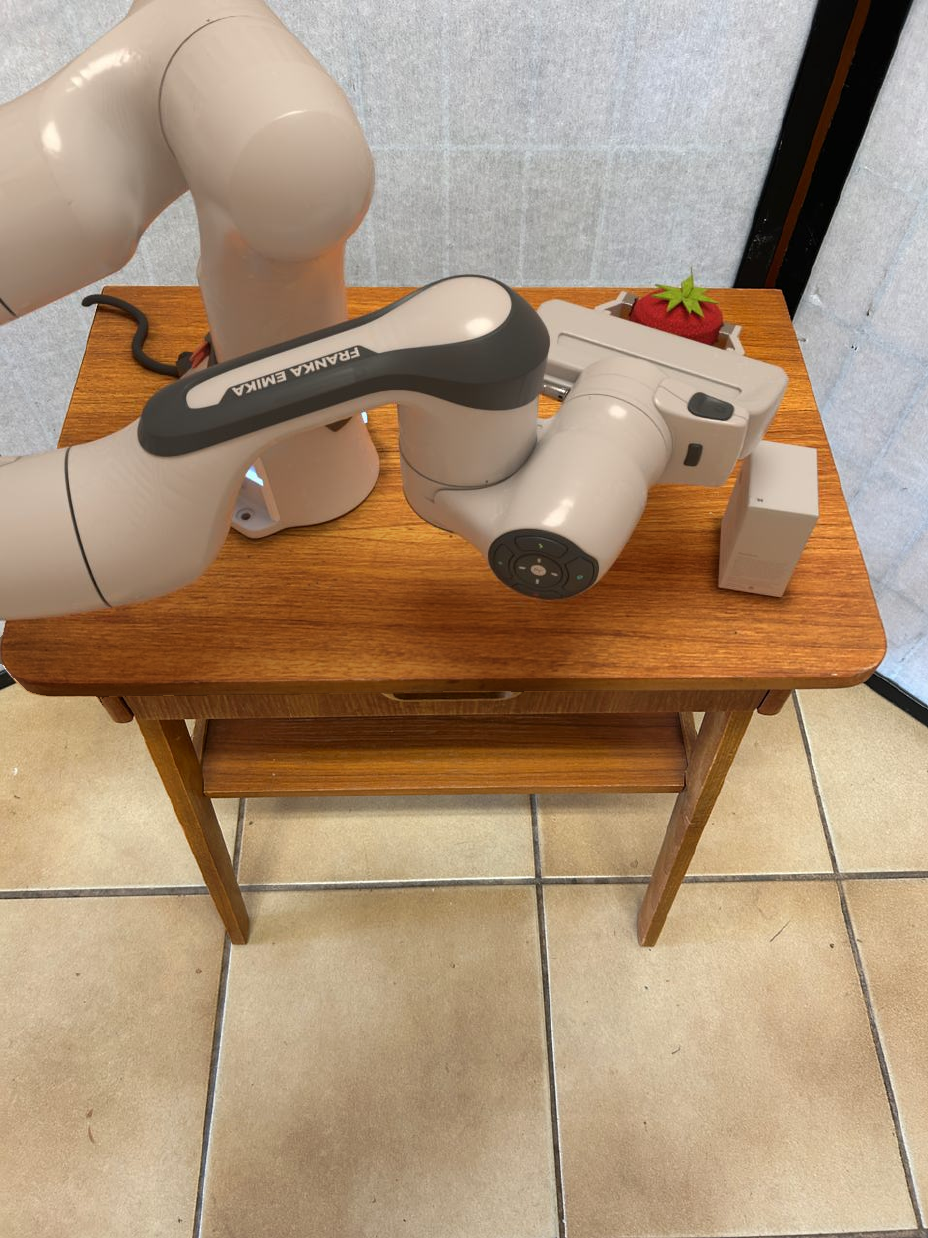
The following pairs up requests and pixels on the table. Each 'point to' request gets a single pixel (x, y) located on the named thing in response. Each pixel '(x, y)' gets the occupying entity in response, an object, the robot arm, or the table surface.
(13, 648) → the table surface
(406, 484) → the robot arm
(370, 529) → the table surface
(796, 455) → the small box
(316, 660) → the table surface
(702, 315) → the strawberry
